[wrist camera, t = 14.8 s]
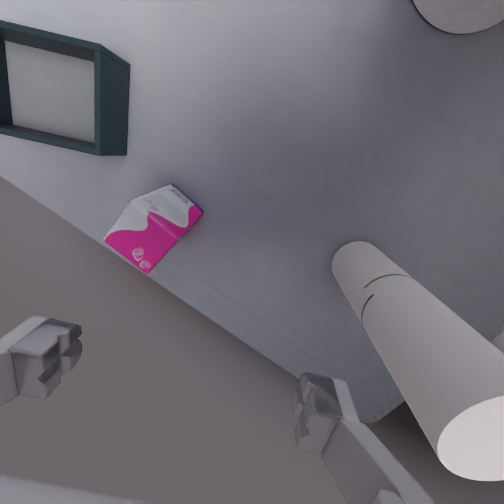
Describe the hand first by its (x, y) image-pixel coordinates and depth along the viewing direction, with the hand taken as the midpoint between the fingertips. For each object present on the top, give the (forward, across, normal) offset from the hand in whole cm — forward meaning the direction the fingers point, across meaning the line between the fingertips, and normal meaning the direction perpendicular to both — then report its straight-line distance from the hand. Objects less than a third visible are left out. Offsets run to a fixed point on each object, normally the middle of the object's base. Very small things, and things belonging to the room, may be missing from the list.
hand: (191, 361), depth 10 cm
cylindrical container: (+28, -17, +5) cm, 34 cm away
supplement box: (+28, +9, +3) cm, 30 cm away
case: (+28, +24, -8) cm, 38 cm away
